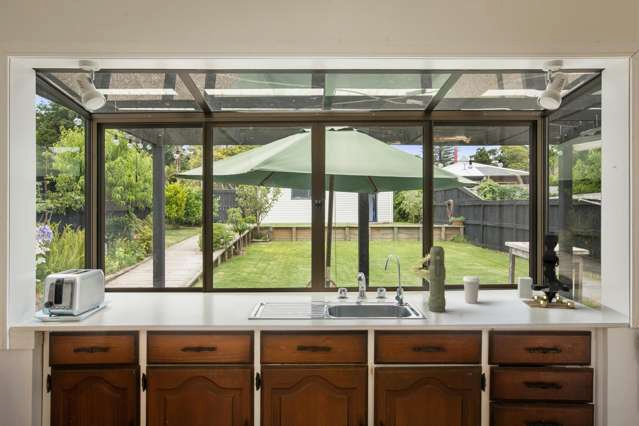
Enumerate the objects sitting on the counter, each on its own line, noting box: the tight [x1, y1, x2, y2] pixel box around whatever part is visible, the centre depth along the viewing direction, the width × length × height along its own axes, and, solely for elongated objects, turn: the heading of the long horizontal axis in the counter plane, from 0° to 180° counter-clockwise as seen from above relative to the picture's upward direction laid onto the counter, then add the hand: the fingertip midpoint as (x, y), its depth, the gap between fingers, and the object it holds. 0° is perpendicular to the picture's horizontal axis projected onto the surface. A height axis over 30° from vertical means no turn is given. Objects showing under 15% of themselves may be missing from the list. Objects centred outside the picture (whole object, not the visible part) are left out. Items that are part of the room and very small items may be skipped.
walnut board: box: [522, 300, 579, 310], centre depth 230 cm, size 17×24×1 cm
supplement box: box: [517, 276, 534, 300], centre depth 250 cm, size 7×7×13 cm
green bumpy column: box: [428, 245, 447, 313], centre depth 220 cm, size 9×12×35 cm
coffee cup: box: [462, 275, 481, 305], centre depth 238 cm, size 10×10×15 cm
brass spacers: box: [533, 294, 575, 310], centre depth 230 cm, size 16×17×4 cm
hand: (549, 303), depth 230 cm, fingers closed
